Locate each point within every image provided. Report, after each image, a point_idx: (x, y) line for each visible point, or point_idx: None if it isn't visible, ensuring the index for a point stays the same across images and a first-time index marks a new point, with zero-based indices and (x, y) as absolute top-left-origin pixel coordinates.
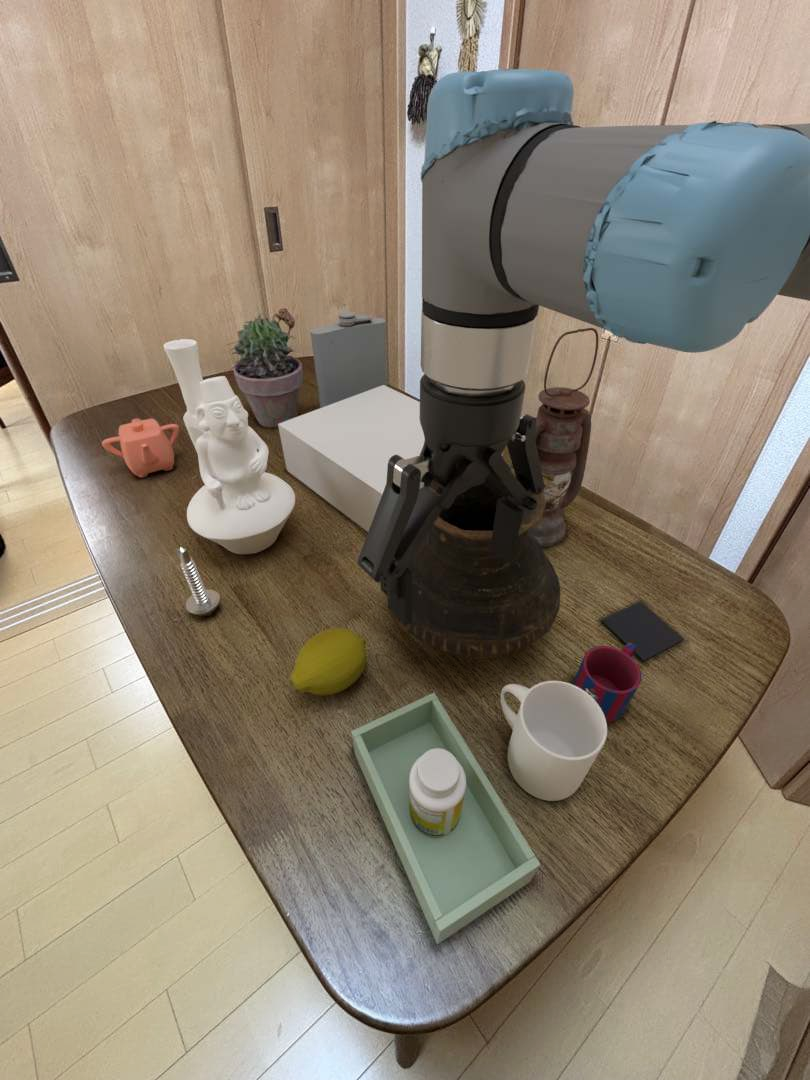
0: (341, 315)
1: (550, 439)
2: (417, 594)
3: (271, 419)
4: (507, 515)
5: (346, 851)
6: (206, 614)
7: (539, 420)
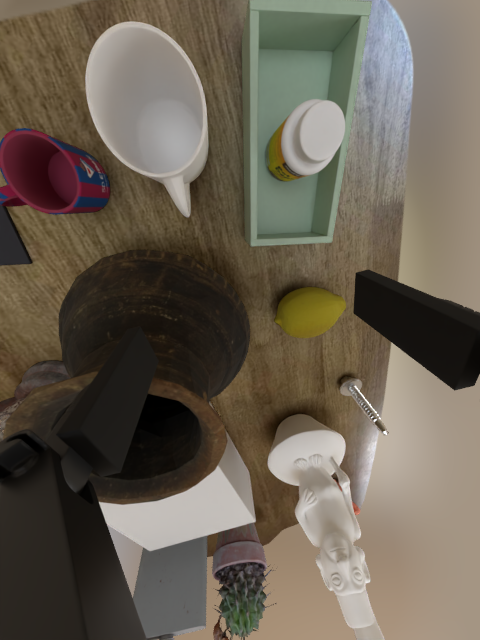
0: None
1: None
2: (234, 341)
3: None
4: (110, 423)
5: (356, 164)
6: (348, 377)
7: None
